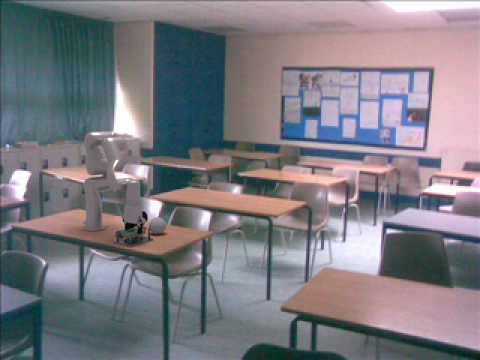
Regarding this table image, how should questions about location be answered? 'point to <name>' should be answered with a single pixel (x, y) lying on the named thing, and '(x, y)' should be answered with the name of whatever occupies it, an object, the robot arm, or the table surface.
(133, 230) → the board
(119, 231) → the stand
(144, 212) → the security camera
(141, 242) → the chassis
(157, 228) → the eye model
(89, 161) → the robot arm
